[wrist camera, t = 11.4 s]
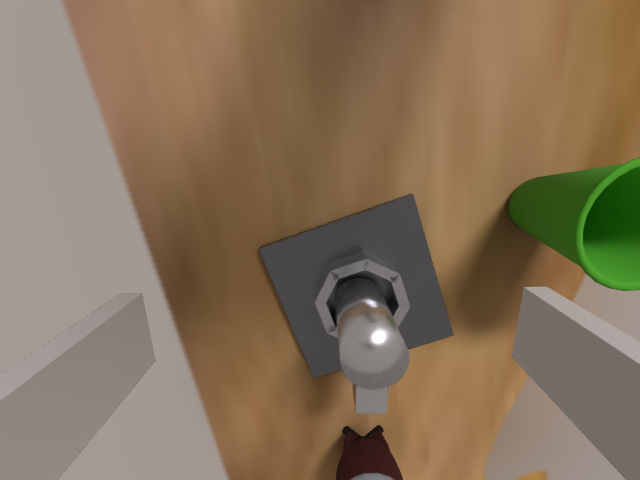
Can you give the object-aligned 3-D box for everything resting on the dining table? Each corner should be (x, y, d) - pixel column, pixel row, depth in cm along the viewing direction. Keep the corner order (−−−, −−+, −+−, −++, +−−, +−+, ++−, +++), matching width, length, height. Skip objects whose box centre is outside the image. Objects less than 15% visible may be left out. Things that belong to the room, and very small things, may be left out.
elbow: (335, 277, 31) (340, 329, 22) (383, 278, 31) (411, 329, 22) (334, 343, 33) (339, 418, 23) (380, 343, 33) (404, 418, 23)
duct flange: (410, 193, 30) (421, 197, 27) (450, 331, 34) (463, 349, 30) (260, 247, 31) (253, 256, 28) (313, 373, 35) (313, 394, 32)
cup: (599, 188, 30) (755, 201, 19) (537, 263, 32) (647, 315, 21) (528, 138, 29) (651, 123, 18) (468, 219, 31) (547, 250, 20)
